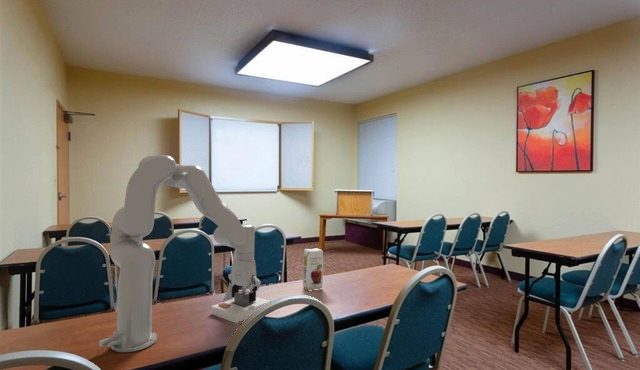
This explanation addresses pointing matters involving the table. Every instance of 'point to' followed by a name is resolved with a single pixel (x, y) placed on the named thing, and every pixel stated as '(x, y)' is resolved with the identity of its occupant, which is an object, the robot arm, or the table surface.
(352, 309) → the table surface
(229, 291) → the flask
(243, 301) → the plug
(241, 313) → the socket plate
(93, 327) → the table surface
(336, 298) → the table surface
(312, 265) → the juice carton
